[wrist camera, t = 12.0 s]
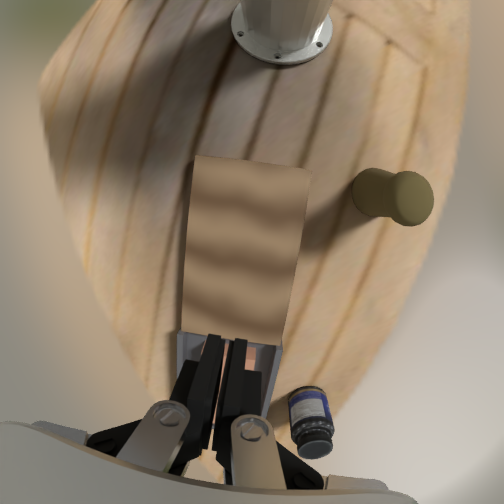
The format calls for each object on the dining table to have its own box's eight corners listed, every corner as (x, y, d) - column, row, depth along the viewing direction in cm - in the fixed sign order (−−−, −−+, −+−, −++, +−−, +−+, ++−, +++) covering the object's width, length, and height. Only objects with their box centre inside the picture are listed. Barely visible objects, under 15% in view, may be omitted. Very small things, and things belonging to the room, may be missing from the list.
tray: (182, 323, 38) (177, 334, 35) (281, 338, 38) (282, 350, 35) (182, 410, 43) (178, 422, 40) (261, 422, 43) (261, 435, 40)
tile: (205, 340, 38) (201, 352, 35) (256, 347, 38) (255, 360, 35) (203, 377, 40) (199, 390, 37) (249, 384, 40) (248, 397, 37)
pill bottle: (322, 410, 42) (333, 460, 31) (286, 411, 42) (290, 463, 31) (328, 383, 40) (342, 435, 29) (289, 384, 40) (294, 439, 30)
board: (199, 156, 32) (195, 155, 31) (309, 170, 32) (312, 170, 31) (184, 323, 38) (181, 330, 36) (279, 337, 38) (280, 345, 36)
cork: (353, 218, 34) (389, 237, 23) (349, 168, 32) (385, 166, 22) (396, 214, 33) (443, 231, 23) (393, 167, 32) (441, 166, 21)
